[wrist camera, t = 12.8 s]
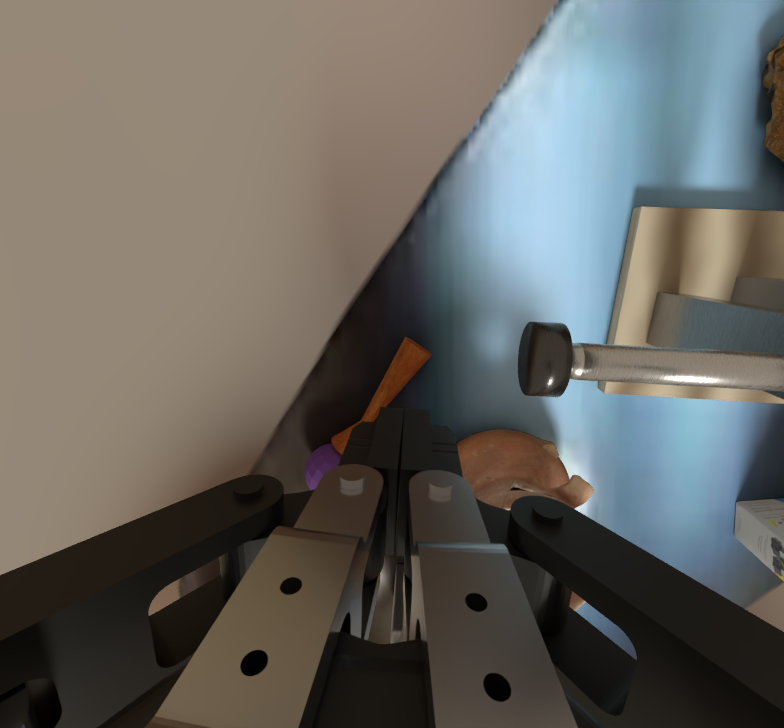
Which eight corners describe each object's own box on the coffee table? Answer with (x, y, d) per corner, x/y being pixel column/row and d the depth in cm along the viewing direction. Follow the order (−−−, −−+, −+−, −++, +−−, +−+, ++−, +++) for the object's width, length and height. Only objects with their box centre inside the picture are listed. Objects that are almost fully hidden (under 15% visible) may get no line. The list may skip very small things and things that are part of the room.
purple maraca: (448, 369, 39) (341, 518, 43) (434, 352, 44) (340, 485, 48) (399, 338, 37) (292, 496, 41) (390, 324, 43) (297, 464, 47)
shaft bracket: (645, 342, 39) (886, 441, 19) (657, 291, 38) (930, 339, 17) (666, 343, 39) (931, 444, 19) (678, 292, 38) (978, 342, 17)
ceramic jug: (505, 385, 43) (540, 450, 29) (596, 468, 45) (669, 565, 31) (395, 487, 48) (381, 583, 34) (481, 558, 49) (501, 676, 36)
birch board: (597, 388, 42) (604, 393, 41) (633, 208, 37) (641, 206, 36) (794, 399, 41) (808, 405, 40) (858, 215, 36) (876, 214, 35)
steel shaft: (514, 381, 24) (532, 406, 20) (523, 316, 23) (544, 329, 19) (857, 401, 23) (944, 431, 19) (883, 333, 22) (982, 351, 18)
